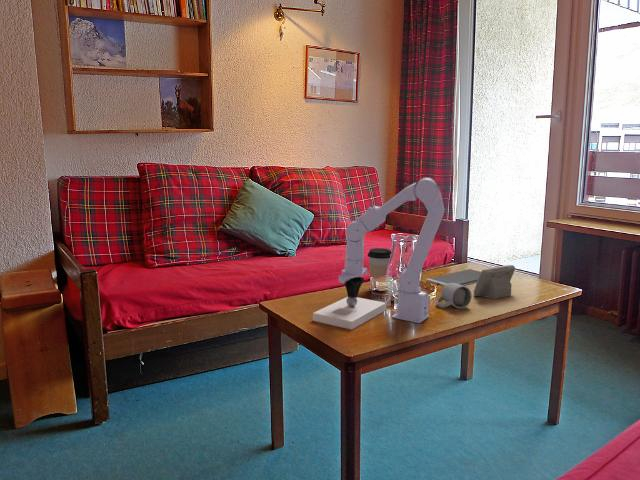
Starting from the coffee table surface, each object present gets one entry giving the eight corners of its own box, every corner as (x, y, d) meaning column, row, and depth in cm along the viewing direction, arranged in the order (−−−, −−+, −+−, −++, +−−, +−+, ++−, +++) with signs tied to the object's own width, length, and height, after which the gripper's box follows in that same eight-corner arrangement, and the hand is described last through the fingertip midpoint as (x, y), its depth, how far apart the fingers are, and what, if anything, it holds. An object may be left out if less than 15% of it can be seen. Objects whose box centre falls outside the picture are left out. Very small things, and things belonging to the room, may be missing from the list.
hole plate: (385, 310, 178) (386, 302, 177) (351, 329, 160) (352, 321, 159) (349, 302, 185) (349, 295, 185) (313, 320, 168) (313, 312, 167)
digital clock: (504, 289, 202) (506, 262, 200) (520, 296, 194) (523, 267, 192) (467, 293, 197) (469, 265, 195) (482, 300, 189) (484, 271, 187)
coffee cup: (391, 294, 196) (392, 253, 193) (365, 292, 198) (366, 252, 195) (392, 287, 205) (394, 248, 202) (368, 285, 207) (368, 247, 204)
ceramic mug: (457, 300, 189) (458, 279, 187) (471, 307, 181) (472, 285, 180) (431, 304, 185) (431, 282, 184) (444, 311, 178) (444, 288, 176)
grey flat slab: (425, 282, 214) (425, 278, 214) (469, 272, 229) (470, 268, 229) (451, 290, 204) (451, 285, 203) (496, 279, 219) (496, 275, 218)
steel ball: (359, 295, 173) (351, 296, 171) (359, 306, 173) (352, 307, 171) (350, 294, 176) (343, 296, 173) (351, 305, 176) (344, 307, 173)
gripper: (355, 252, 180) (352, 291, 182) (331, 260, 168) (329, 302, 171) (373, 256, 176) (371, 296, 179) (350, 264, 164) (348, 307, 167)
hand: (351, 299), depth 174 cm, fingers closed, pressing on steel ball
